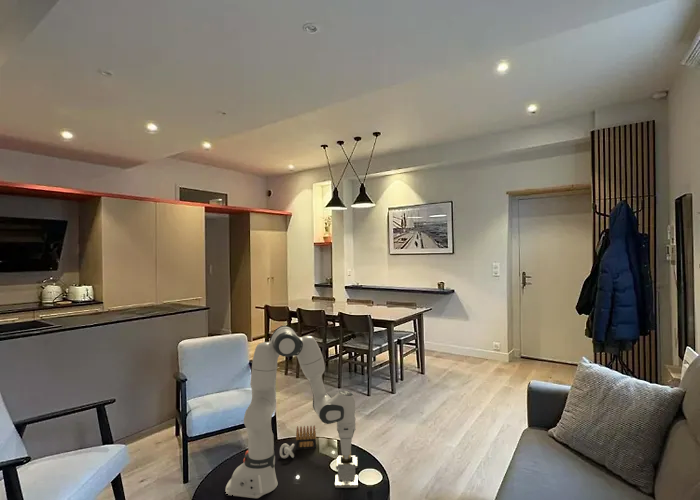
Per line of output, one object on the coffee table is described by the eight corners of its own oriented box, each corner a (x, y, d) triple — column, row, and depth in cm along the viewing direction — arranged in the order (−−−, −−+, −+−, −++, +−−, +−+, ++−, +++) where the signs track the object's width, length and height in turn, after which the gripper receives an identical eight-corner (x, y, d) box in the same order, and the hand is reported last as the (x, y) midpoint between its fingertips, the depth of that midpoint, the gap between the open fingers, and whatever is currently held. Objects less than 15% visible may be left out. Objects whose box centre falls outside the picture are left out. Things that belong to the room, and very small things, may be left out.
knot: (286, 451, 208) (286, 439, 208) (299, 454, 205) (299, 443, 205) (277, 457, 202) (277, 446, 202) (290, 461, 198) (290, 449, 198)
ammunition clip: (316, 446, 213) (315, 424, 213) (316, 448, 211) (316, 425, 211) (296, 448, 211) (295, 425, 212) (295, 449, 210) (295, 427, 210)
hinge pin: (342, 465, 185) (342, 446, 185) (342, 460, 189) (342, 442, 189) (350, 465, 185) (350, 446, 185) (351, 460, 189) (350, 441, 189)
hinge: (335, 487, 175) (334, 474, 175) (337, 459, 199) (337, 447, 199) (357, 487, 175) (357, 473, 175) (357, 459, 199) (356, 447, 199)
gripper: (340, 417, 198) (340, 444, 197) (338, 435, 177) (339, 467, 177) (352, 416, 198) (353, 444, 197) (352, 435, 177) (353, 466, 177)
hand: (346, 455), depth 187 cm, fingers closed on hinge pin, 4 cm apart
